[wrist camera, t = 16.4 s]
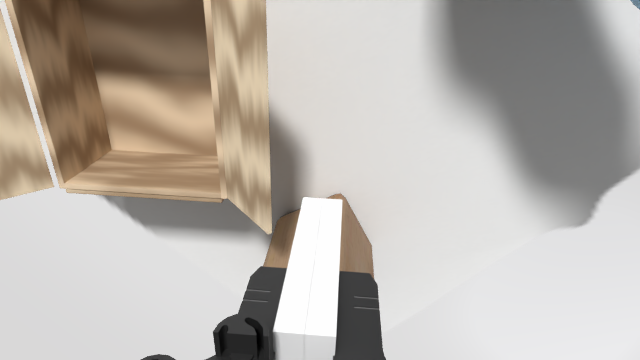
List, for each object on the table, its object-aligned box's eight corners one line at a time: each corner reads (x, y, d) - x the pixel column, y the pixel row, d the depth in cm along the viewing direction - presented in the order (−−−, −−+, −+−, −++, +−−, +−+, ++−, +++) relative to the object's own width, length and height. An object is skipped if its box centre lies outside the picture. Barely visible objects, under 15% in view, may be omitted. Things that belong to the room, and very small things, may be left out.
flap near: (209, -10, 32) (260, -5, 27) (214, -10, 33) (265, -5, 27) (227, 197, 41) (268, 234, 35) (230, 196, 41) (271, 232, 36)
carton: (70, -28, 42) (-6, -30, 33) (239, -22, 41) (208, -22, 32) (110, 155, 52) (60, 192, 43) (249, 163, 51) (227, 202, 42)
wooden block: (374, 246, 55) (384, 374, 37) (310, 270, 58) (291, 399, 40) (342, 188, 51) (336, 299, 34) (275, 216, 54) (237, 332, 36)
